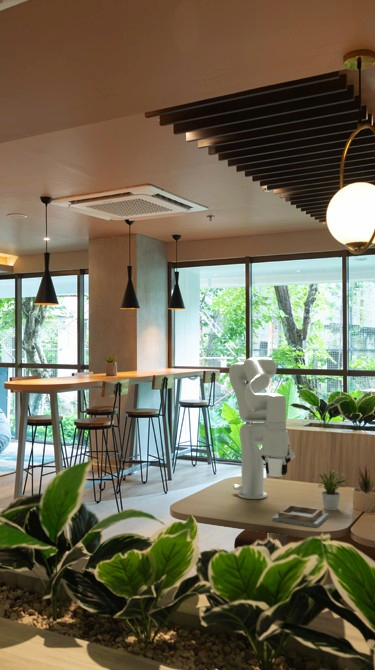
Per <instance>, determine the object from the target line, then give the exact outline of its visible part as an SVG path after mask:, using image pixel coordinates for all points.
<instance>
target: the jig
mask: <svg viewBox="0 0 375 670" xmlns="http://www.w3.org/2000/svg"><path fill="white" fill-rule="evenodd" d="M328 518H329V513H324V512H323V508H317V507H312V506H311V507H309V506H302V505H296V504H295V505H294V504H288V505H287V506H286V507H284V508H282V509H281V510H280V511H279V512H278V513H276V514H275V515H273V516H272V518H271V521H273V522H279V521H282V522H281V523H285V522H288V524H292V523H297V524H296V525H299V524H306V525H311V526H310V527H313V526H316V527H315V528H318V527H319V526H320V525H321V524H323V522H324V521H326V520H327V519H328ZM306 525H305V526H306Z"/></svg>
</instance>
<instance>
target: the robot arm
mask: <svg viewBox="0 0 375 670" xmlns="http://www.w3.org/2000/svg"><path fill="white" fill-rule="evenodd" d="M276 373H277V364H276V362H275V360H274V359H273V358H271V357H249V358H247V359H245V360H244V361H243V362H235V363H233V364H232V365H230V367H229V371H228V376H229V377H228V378H229V383H230V385H231V387H232V390H233V391H234V394H235V398H236V402H237V408H238V413H239V418H240V420H241V421H242V422H245V423H243V424H242V425H241V426H240V428H239V439H240V448H241V483H240V484H235V483H234V484H233V486H232V487H233V490H236V491H237V490H238V491H239V492H237V496H238V497H240V498H241V499H248V500H261V499H266V498H268V493H267V492H265V491H264V488H265V487H264V486H265V485H264V480H265V479H264V478H265V477H264V476H265V475H264V471H266V474H268V475H269V468H268V458H267V457H271V456H272V457H281V458H282V459H283V465H282V475H284V476H286V475H287V474H288V464H289V463H290V462H291V461H292V460H293V459H294V458H295V457H296V454H295V452H294V451H293V450H292V448H291V443H290V436H289V431H288V430H287V399H286V396H285V395H283V394H280V393H277V392H262V391H263V390H266V389H267V388H268V387H269V385H270V383H271V382H270V381H271V380H270V379H271V378H272V379H273V377H274V376H275V375H276ZM247 382H248V383H247ZM259 446H261V448H260V447H259ZM288 456H289V457H288ZM264 463H265V469H264Z"/></svg>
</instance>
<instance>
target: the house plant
mask: <svg viewBox="0 0 375 670" xmlns="http://www.w3.org/2000/svg"><path fill="white" fill-rule="evenodd" d="M331 467H332V466H331ZM331 467H330V468H329V472H328V473H329V477H328V475H327V474H326V472H324V471H321V472H322V473H321V472H317V473H314V475H315V474H317V475H318V476H319V477H320V478H321V479H322V480H318V482H319V483H320V484H318V486H317V487H318V489H321V488H323V489H325V490H324V491H322V492H321V494H322V501H323V508H324V509H325V510H327V511H337V510H338V509H339V504H340V503H339V501H340V498H341V493H340V492H339V491H338V489H340V488H347V484H342V483H345V482H351V480H349V479H343V478H345V476H344V474H346V472H344V473H341V474H339V476H338V477H337V478H336V479H335V477H336V475H337V474H338V472H340V469H338V470H337V471H336V472H335V469H332V468H331ZM340 479H343V480H340Z"/></svg>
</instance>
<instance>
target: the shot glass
mask: <svg viewBox="0 0 375 670" xmlns="http://www.w3.org/2000/svg"><path fill="white" fill-rule="evenodd" d="M267 458H268V468H269V473H268V476H269V477H274V478H276V477H277V478H280V477H284V476H285V475H282V465H283V459H282V458H281V457H272V456H271V457H267Z"/></svg>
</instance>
